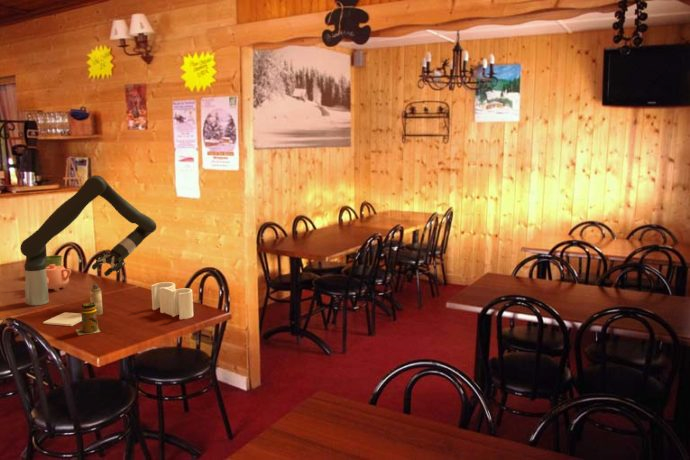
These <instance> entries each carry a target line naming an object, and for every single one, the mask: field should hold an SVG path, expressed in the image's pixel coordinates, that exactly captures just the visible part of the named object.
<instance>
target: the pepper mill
mask: <svg viewBox="0 0 690 460" xmlns="http://www.w3.org/2000/svg"><path fill="white" fill-rule="evenodd" d="M89 299H90V303H95V307H96V308H95V309H96V310H97V316H98V315H99V316H100V315H102V314H103V313H104V312H103V311H104V310H103V296H102V289H101V287H100V286H99V285H98V284H97V283H94V284H93V285H92V287H91V288H90V291H89Z"/></svg>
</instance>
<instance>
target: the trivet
mask: <svg viewBox="0 0 690 460" xmlns="http://www.w3.org/2000/svg"><path fill="white" fill-rule="evenodd" d="M80 322H81V323H82V315H81V312H79V313H78V312H77V313H76V312H67V311H66V312H65V311H64V312H63V313H60V314H58V315H55V316H53V317H50V319H47V320H45V321H43V323H42V324H43V325H54V326H55V325H56V326H67V327H68V326H69V327H73V326H75V325H77V324H79V323H80Z"/></svg>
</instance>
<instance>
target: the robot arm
mask: <svg viewBox="0 0 690 460" xmlns="http://www.w3.org/2000/svg"><path fill="white" fill-rule="evenodd" d="M97 197H101V198H103V199H104V200H106V202H108V203H109V204H110V205H111V206H112V207H113V208H114V209H115V211H116V212H117V213H118V214H119V215H120V216H121V217H123V218H124V219H126V220H127V221H128V222H129V223H131V224H135V225H137V226H136V228H134V230H133V231H132V232H130V233H129V234H128V235H126V236H125V238H123V239H121V240H120V241H119V242H118V243H117V244H115V246H113V248H112V249H111V250H110V252H109V253H107V251H106V250H103V251H102V252H101V253H99V254H98V255H97V256H96V257H95V258H94V259H95V260H96V262H94V263H93V264H92V266H91V269H92V270H93V271H95V270H96V269H98V268H99V266H100V265H103V264H104V265H105V264H107V265H110V267H108V269H107V270H105V271H104V273H103V274H104V276H105V277H108V276H110V275H111V274H112V273H113V272H116V273H118V272H119V271H121V269H122V268H123V267H124V266H125V265H126V262H125V259H126V258H128V257H129V255H130V254H132V253H133V252H134V250H135V249H136V248H137V247H139V245H141V244H142V242H143V241H144V240H145V239H146V238H147V237H148V236H150V235H152V234H153V233H154V232H155V231H156V230H157V223H156V222H155V220H154V219H152V218H151V217H150V216H147V215H146V214H144V213H142V212H140V211H139V210H138V209H137V208H136V207H135V206H134V205H132V204H131V203H130V202H128V201H127V200H126V199H125V198H123V197H122V196H121V195H120V194H119V193H117V191H116V190H115V189H114V188H112V186H111V185H110V184H109V182H107V180H106V179H105V178H104V177H103V176H101V175H97V174H96V175H92V176H90V177H88V178H87V179H86V180H85V182H84V183H83V184H82V186H81V187H80V188H79V189H78V190H77V192H76V193H75V194H73V196H71V197H69V198H68V199H67V200H65V201H64V202H63V203H61V205H60V206H58V208H56V209H55V210H54V211H53V212H52V213H51V215H49V217H47V219H46V220H45V221H44V222H43V223H42V224H41V226H40V227H39V228H38V229H37V230H35V232H33V233H32V234H31V235H29V236H28V237H27V238H25V239H24V240H23V241H22V242H21V244H20V252H21V254H22V255H23V256H25V262H24V265H23V267H24V275H25V278H24V279H25V284H24V287H23V288H24V296H25V297H24V298H25V304H26V305H28V306H42V305H46V304H48V303H50V300H49V289H48V284H47V273H46V262H47V256H48V255H47V244H49V242H51V240H52V239H53V238H54V237H56V236H57V235H59V234H60V233H61V232H63V231H64V230H65V229H66V228H68V227H69V226H70V225H71V224H72V223H73V222H74V221H75V220H76V219H77V218H78V217H79V216H80V214H81V213H82V212H84V211H83V210H84V209H85V208H86V207H87V206H88V205H89V204H90V203H91V202H92V201H94V200H95V199H96V198H97Z"/></svg>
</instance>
